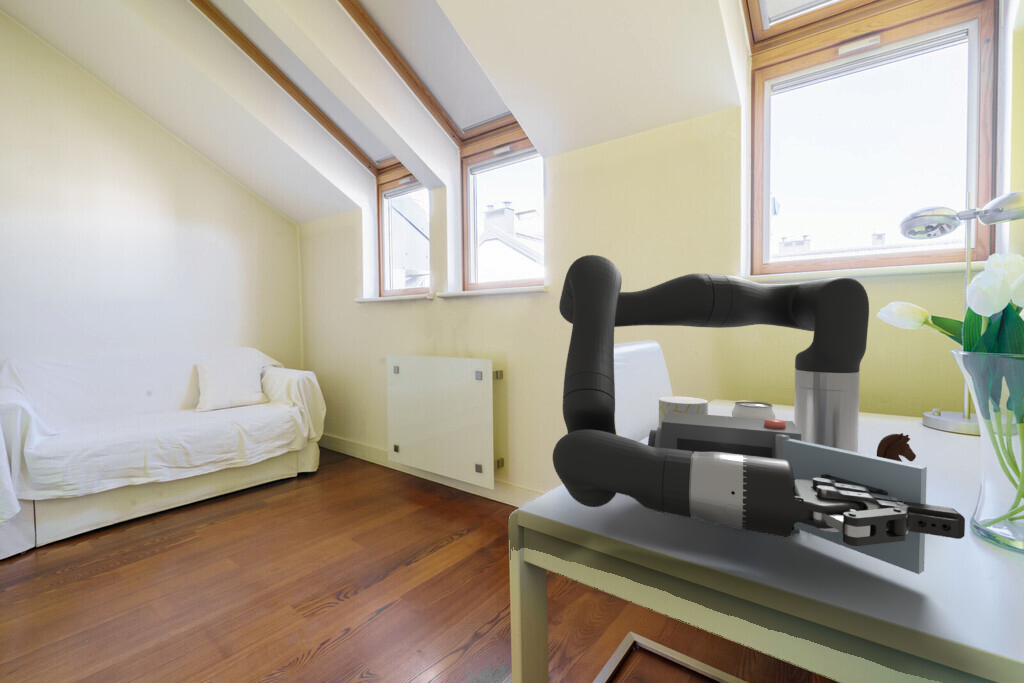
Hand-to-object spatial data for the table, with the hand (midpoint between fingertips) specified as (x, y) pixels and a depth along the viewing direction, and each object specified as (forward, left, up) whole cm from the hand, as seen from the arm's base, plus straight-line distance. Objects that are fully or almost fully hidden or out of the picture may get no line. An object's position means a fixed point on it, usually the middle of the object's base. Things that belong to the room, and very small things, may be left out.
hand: (960, 523), depth 39 cm
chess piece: (-26, +7, -8) cm, 28 cm away
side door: (-8, -6, -6) cm, 12 cm away
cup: (-36, -20, -8) cm, 41 cm away
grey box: (-18, -16, -7) cm, 25 cm away
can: (-35, -9, -8) cm, 37 cm away
